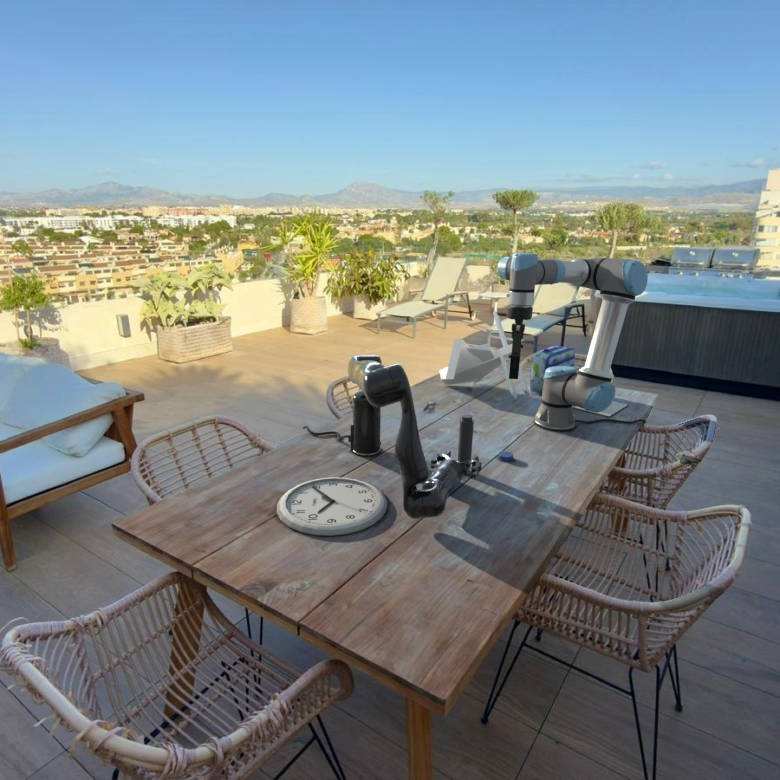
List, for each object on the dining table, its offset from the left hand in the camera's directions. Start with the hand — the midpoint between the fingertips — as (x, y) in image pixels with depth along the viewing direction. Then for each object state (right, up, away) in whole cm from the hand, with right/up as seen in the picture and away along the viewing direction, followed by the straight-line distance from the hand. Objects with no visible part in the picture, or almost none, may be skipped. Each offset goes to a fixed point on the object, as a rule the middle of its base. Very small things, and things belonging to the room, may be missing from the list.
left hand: (463, 455), depth 160 cm
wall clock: (-38, -11, -18) cm, 43 cm away
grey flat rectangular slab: (+69, +13, +66) cm, 96 cm away
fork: (-6, +13, +63) cm, 64 cm away
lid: (+16, -1, +13) cm, 21 cm away
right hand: (+17, +26, +5) cm, 31 cm away
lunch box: (+54, +20, +87) cm, 104 cm away
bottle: (+1, -5, +4) cm, 7 cm away
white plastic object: (+19, +19, +83) cm, 87 cm away
